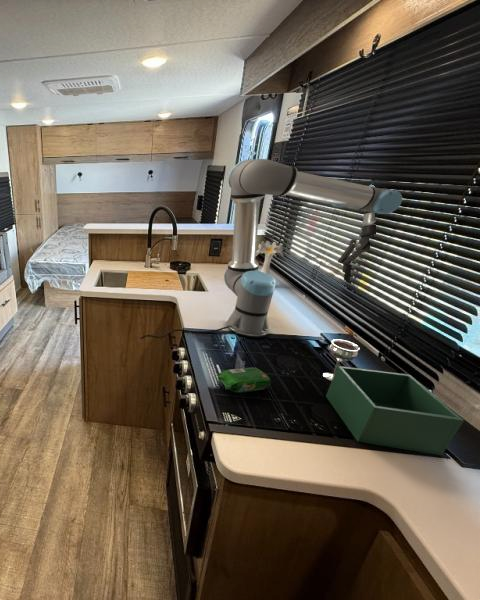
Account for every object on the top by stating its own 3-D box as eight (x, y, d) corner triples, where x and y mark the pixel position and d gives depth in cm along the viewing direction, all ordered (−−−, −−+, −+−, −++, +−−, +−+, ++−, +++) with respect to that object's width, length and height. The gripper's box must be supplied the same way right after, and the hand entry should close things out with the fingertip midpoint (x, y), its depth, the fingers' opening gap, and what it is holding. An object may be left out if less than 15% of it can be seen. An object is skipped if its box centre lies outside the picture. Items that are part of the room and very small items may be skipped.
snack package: (212, 382, 96) (214, 368, 94) (257, 376, 98) (261, 363, 96) (225, 398, 89) (228, 383, 87) (273, 391, 91) (277, 377, 89)
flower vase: (266, 280, 181) (277, 237, 171) (279, 291, 164) (292, 245, 154) (243, 278, 183) (252, 237, 173) (253, 290, 166) (264, 244, 156)
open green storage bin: (357, 441, 75) (374, 407, 70) (325, 396, 90) (337, 365, 85) (441, 455, 71) (464, 420, 67) (393, 406, 86) (410, 374, 81)
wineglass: (337, 386, 94) (351, 353, 89) (314, 373, 99) (326, 341, 95) (351, 380, 96) (365, 348, 91) (328, 368, 102) (340, 337, 97)
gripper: (428, 222, 105) (418, 283, 107) (342, 230, 128) (335, 281, 129) (418, 218, 102) (408, 281, 104) (332, 228, 125) (325, 279, 126)
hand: (367, 281), depth 117 cm, fingers open, 13 cm apart
